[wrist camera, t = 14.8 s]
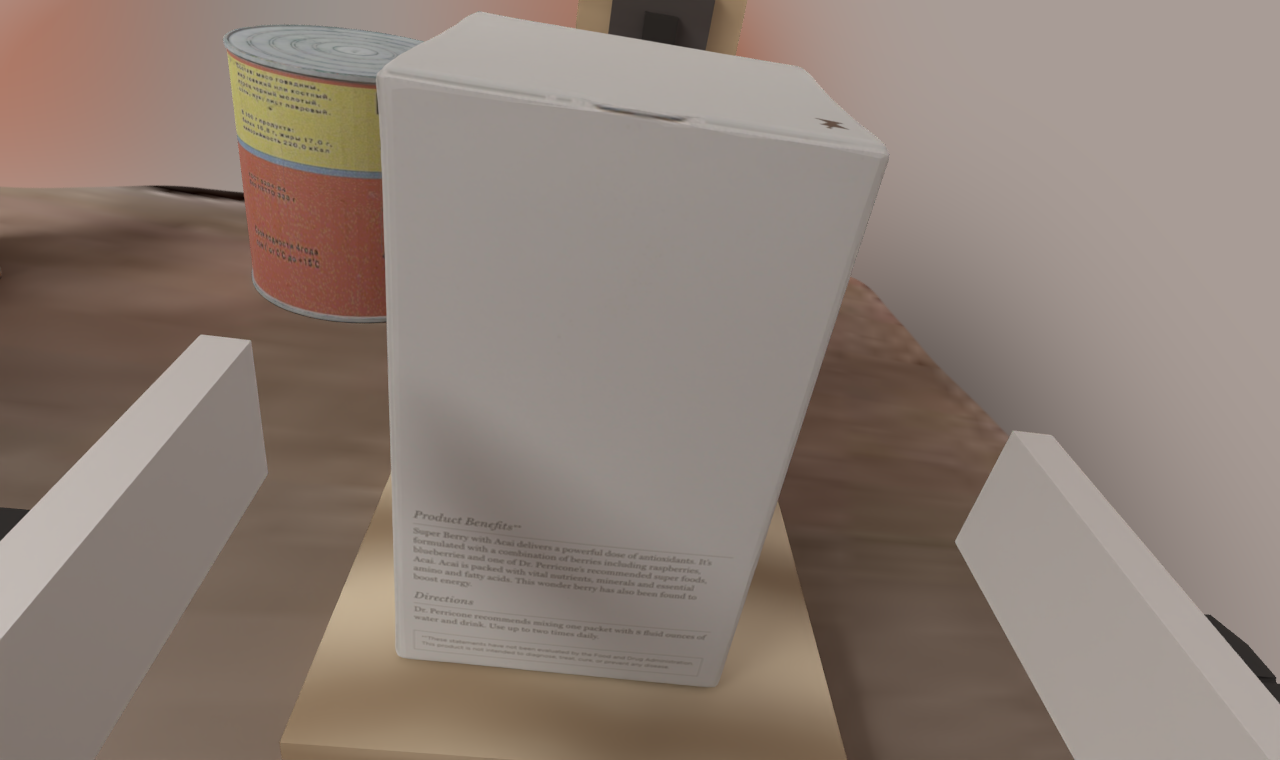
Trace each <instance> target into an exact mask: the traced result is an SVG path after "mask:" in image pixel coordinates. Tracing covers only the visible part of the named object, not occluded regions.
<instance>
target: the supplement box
mask: <svg viewBox="0 0 1280 760" xmlns="http://www.w3.org/2000/svg"><path fill="white" fill-rule="evenodd" d="M376 88H377V99H378V111H379V127H380V140H381V167H382V190H383V222H384V249H385V281H386V313H387V354H388V386H389V418H390V449H391V482H392V524H393V555H394V587H395V649H396V652H397V655H398V656H400V657H402V658H407V659H415V660H427V661H439V662H450V663H461V664H471V665H481V666H491V667H501V668H511V669H521V670H531V671H541V672H552V673H562V674H573V675H583V676H594V677H604V678H615V679H625V680H636V681H646V682H656V683H667V684H677V685H688V686H698V687H715V686H717V685H718V683H719V681H720V678H721V674H722V671H723V668H724V665H725V662H726V658H727V655H728V652H729V649H730V646H731V643H732V640H733V637H734V634H735V631H736V628H737V625H738V622H739V619H740V616H741V613H742V609H743V606H744V603H745V600H746V597H747V594H748V590H749V587H750V584H751V581H752V578H753V575H754V572H755V569H756V566H757V563H758V560H759V557H760V554H761V551H762V548H763V545H764V542H765V539H766V536H767V532H768V529H769V526H770V523H771V520H772V517H773V514H774V511H775V507H776V504H777V501H778V498H779V495H780V492H781V489H782V486H783V483H784V479H785V476H786V473H787V470H788V467H789V464H790V461H791V458H792V454H793V451H794V448H795V445H796V442H797V439H798V436H799V433H800V430H801V427H802V423H803V420H804V417H805V414H806V411H807V408H808V405H809V402H810V399H811V396H812V392H813V389H814V386H815V383H816V380H817V377H818V374H819V371H820V368H821V365H822V362H823V358H824V355H825V352H826V349H827V346H828V343H829V340H830V337H831V334H832V331H833V328H834V325H835V321H836V318H837V315H838V312H839V309H840V306H841V303H842V300H843V297H844V294H845V291H846V288H847V285H848V282H849V279H850V276H851V273H852V269H853V266H854V263H855V260H856V257H857V254H858V251H859V248H860V245H861V242H862V239H863V236H864V233H865V230H866V227H867V224H868V221H869V218H870V215H871V212H872V209H873V206H874V203H875V200H876V196H877V193H878V190H879V187H880V185H881V181H882V179H883V175H884V172H885V169H886V166H887V163H888V160H889V155H890V154H889V152H888V150H887V148H886V146H885V144H884V143H883V142H882V141H880V140H879V139H878V138H877V137H876V136H875V135H873V134H872V133H871V132H870V131H868V130H867V129H866V128H864V127H863V126H862V125H861V124H859V123H858V122H857V121H856V120H855V119H854V118H852V117H851V116H850V115H849V114H848V113H847V112H846V111H845V110H844V109H842V108H841V107H840V106H839V105H838V104H837V103H836V102H835V101H834V100H833V99H832V98H831V97H830V96H829V95H828V94H827V93H826V92H825V91H824V90H823V89H822V88H821V86H820V85H819V84H818V83H817V82H816V81H815V79H814V78H813V77H812V76H811V75H810V74H809V73H808V72H807V71H805V70H804V69H803V68H800V67H798V66H793V65H787V64H781V63H775V62H769V61H763V60H757V59H750V58H745V57H739V56H733V55H727V54H721V53H716V52H710V51H704V50H698V49H693V48H687V47H681V46H675V45H670V44H664V43H658V42H652V41H646V40H641V39H635V38H629V37H623V36H617V35H611V34H605V33H599V32H593V31H587V30H581V29H575V28H569V27H563V26H557V25H551V24H545V23H539V22H534V21H528V20H522V19H517V18H511V17H506V16H500V15H495V14H489V13H485V12H481V11H478V12H476V13H474V14H471V15H469V16H467V17H466V18H465V19H463V20H461V21H460V22H459V23H458V24H457V25H455V26H453V27H451V28H450V29H448V30H446V31H445V32H443V33H441V34H440V35H437V36H435V37H434V38H431V39H429V40H428V41H426V42H423V43H421V44H419V45H417V46H415V47H413V48H411V49H410V50H408V51H406V52H404V53H402V54H400V55H399V56H397V57H396V58H394V59H393V60H392V61H390V62H389V63H388V64H386V65H385V66H384V67H383V69H382V70H380V71H379V72H378V73H377V76H376Z"/></svg>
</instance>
